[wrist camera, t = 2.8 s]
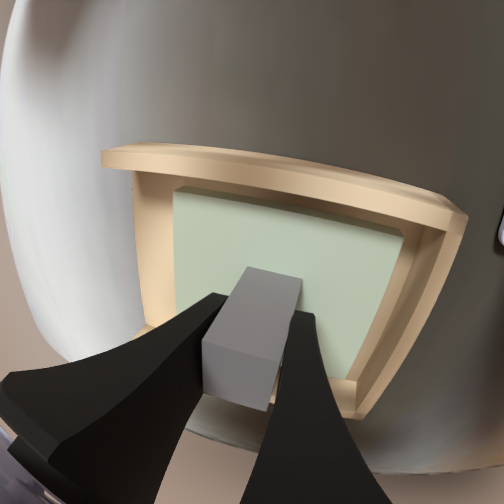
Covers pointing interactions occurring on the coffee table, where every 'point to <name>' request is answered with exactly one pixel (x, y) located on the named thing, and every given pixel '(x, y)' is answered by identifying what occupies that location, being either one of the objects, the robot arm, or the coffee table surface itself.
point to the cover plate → (292, 249)
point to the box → (311, 196)
